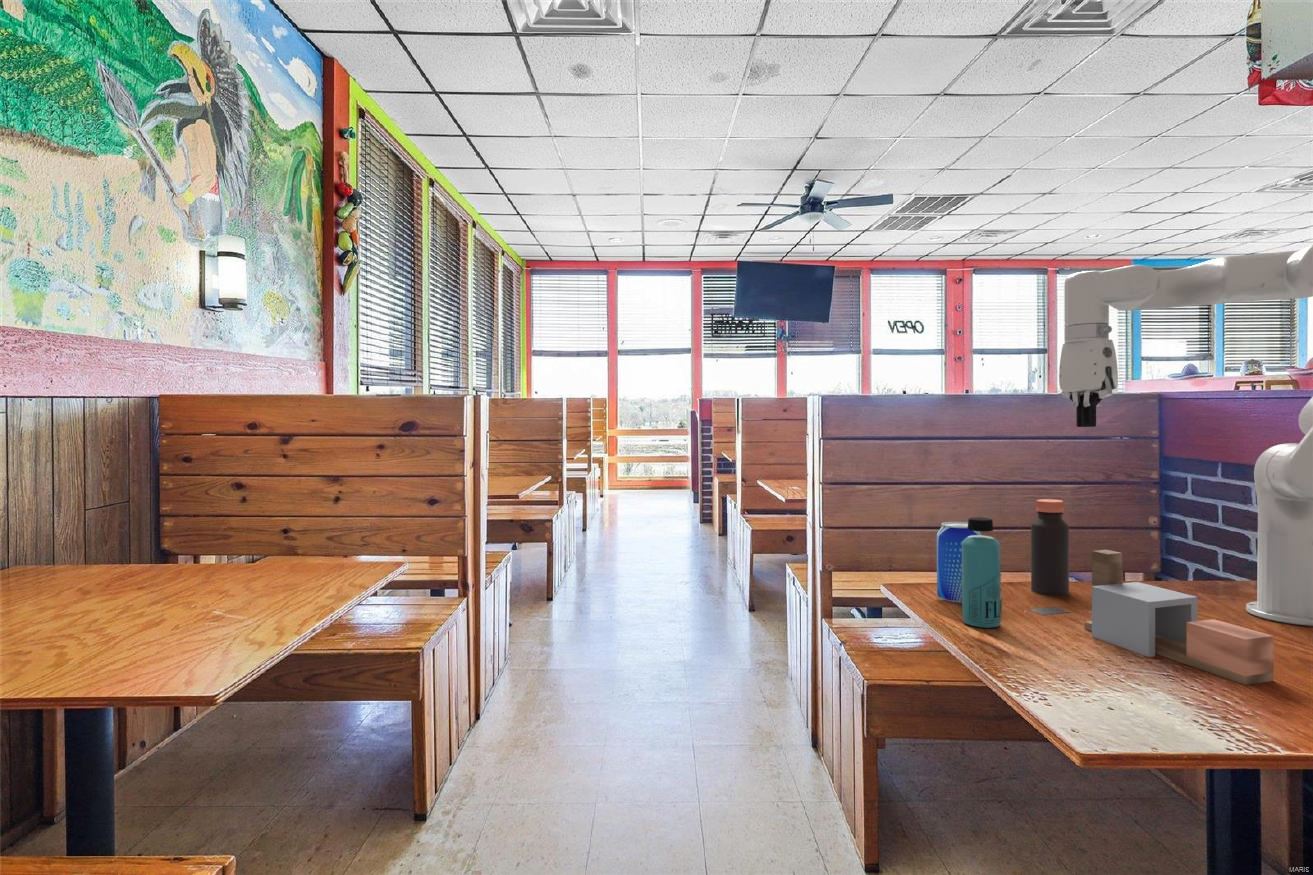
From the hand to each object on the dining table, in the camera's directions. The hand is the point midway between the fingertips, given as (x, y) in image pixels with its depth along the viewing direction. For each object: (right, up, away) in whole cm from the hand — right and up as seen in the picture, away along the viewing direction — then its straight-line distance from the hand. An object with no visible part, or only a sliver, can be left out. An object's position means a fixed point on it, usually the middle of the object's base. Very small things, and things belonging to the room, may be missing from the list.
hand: (1086, 426), depth 137 cm
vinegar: (-5, -35, +4) cm, 36 cm away
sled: (-8, -35, -32) cm, 48 cm away
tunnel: (-9, -36, -28) cm, 47 cm away
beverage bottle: (-29, -36, -16) cm, 49 cm away
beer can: (-25, -36, +1) cm, 44 cm away
